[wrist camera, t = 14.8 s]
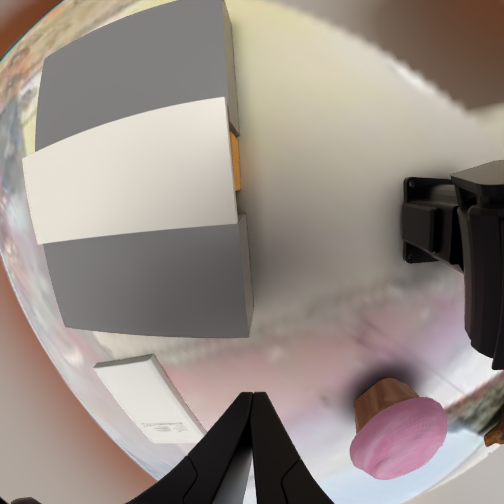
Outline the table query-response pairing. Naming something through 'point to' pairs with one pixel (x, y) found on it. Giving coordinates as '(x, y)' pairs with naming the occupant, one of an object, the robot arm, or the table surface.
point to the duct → (161, 241)
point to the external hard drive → (150, 399)
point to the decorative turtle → (496, 433)
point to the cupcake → (395, 430)
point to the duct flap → (135, 175)
